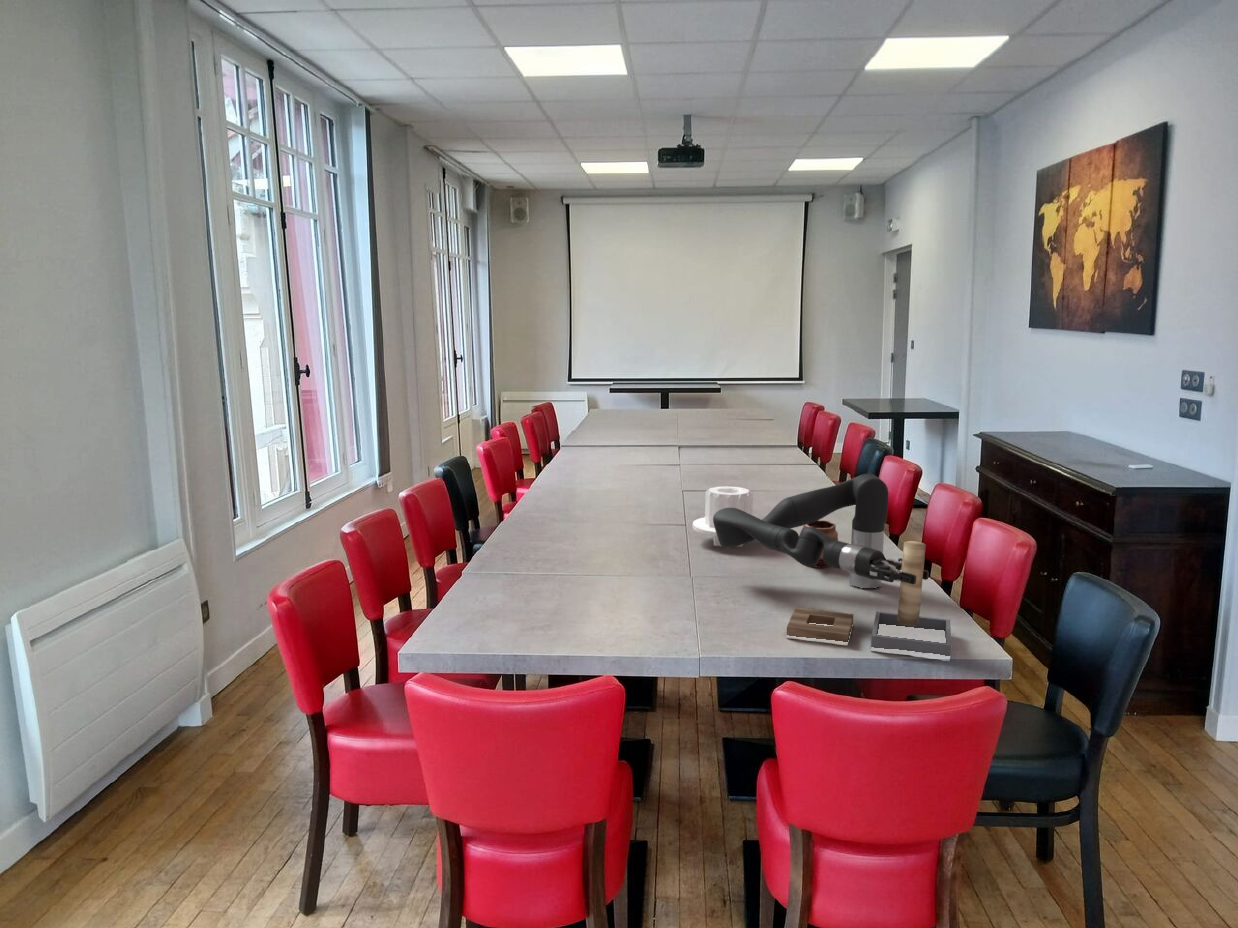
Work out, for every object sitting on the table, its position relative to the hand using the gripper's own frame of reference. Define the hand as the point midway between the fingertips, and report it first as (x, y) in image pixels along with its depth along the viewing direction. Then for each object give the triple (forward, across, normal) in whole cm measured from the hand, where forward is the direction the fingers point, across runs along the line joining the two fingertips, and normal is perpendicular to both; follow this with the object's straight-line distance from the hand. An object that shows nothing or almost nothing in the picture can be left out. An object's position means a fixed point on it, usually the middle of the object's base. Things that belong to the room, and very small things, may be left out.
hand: (921, 577), depth 207 cm
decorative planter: (-57, -36, -18) cm, 70 cm away
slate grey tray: (-2, -1, -18) cm, 18 cm away
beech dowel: (-3, 0, -12) cm, 12 cm away
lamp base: (-94, -34, -19) cm, 102 cm away
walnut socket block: (-21, +10, -18) cm, 29 cm away
